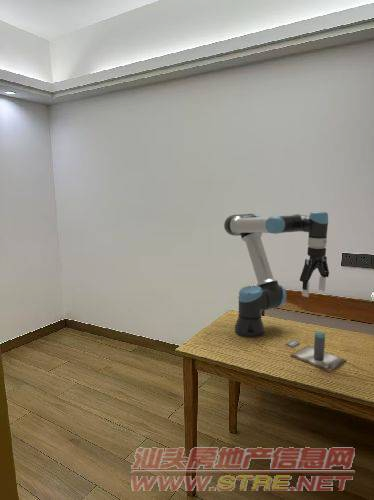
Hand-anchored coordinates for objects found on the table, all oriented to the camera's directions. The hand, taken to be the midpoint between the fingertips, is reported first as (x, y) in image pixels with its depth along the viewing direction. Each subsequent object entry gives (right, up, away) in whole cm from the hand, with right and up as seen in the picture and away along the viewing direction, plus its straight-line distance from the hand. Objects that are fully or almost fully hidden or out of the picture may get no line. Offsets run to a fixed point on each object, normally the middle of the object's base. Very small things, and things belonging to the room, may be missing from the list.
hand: (313, 293), depth 150 cm
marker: (-2, -27, -10) cm, 29 cm away
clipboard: (-1, -28, -6) cm, 28 cm away
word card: (-7, -25, +8) cm, 27 cm away
